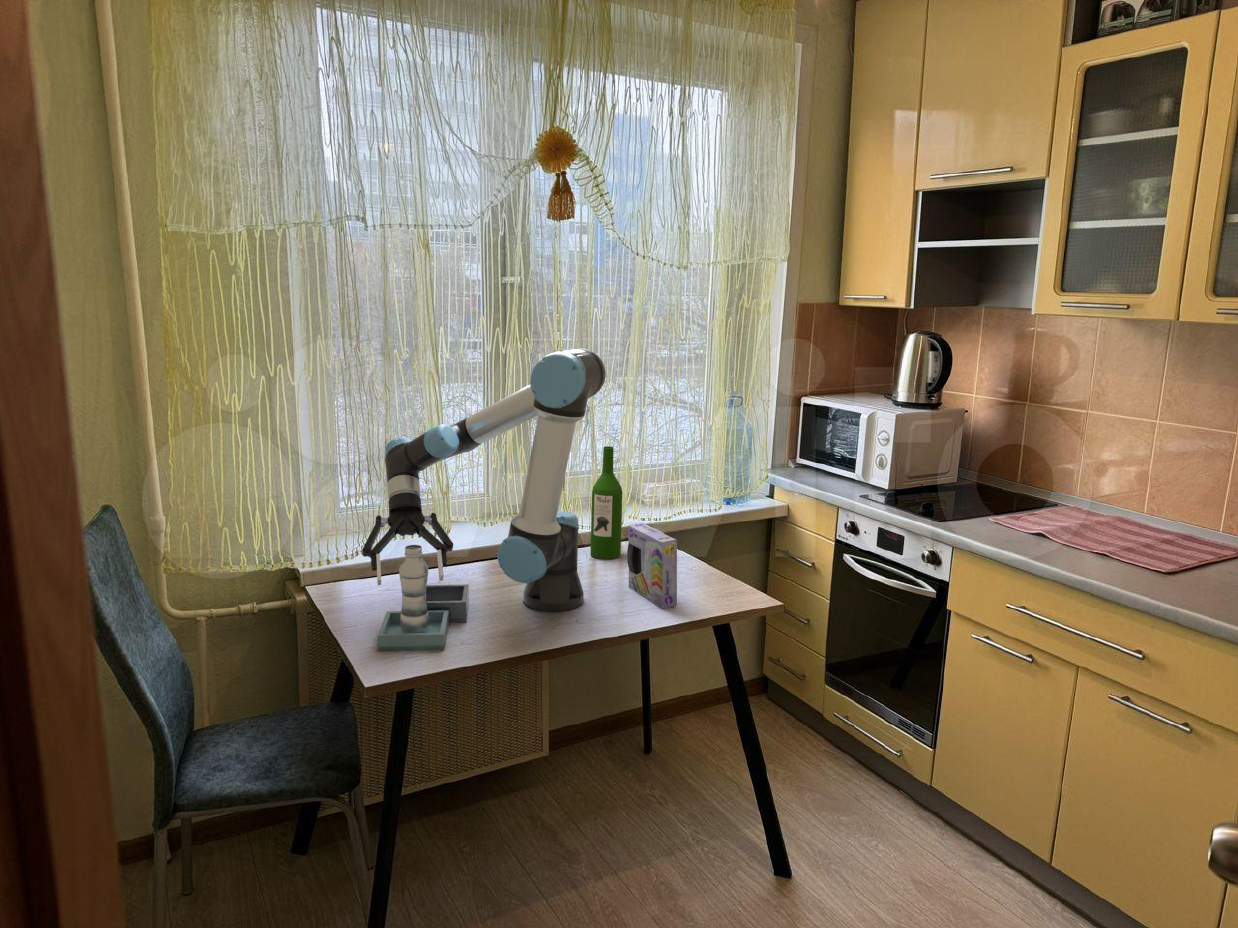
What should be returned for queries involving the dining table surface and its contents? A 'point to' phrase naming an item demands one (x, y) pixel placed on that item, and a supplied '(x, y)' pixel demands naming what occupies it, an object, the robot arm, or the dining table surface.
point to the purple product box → (652, 564)
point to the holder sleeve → (449, 600)
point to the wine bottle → (606, 512)
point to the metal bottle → (414, 591)
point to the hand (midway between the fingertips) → (410, 580)
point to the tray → (398, 640)
